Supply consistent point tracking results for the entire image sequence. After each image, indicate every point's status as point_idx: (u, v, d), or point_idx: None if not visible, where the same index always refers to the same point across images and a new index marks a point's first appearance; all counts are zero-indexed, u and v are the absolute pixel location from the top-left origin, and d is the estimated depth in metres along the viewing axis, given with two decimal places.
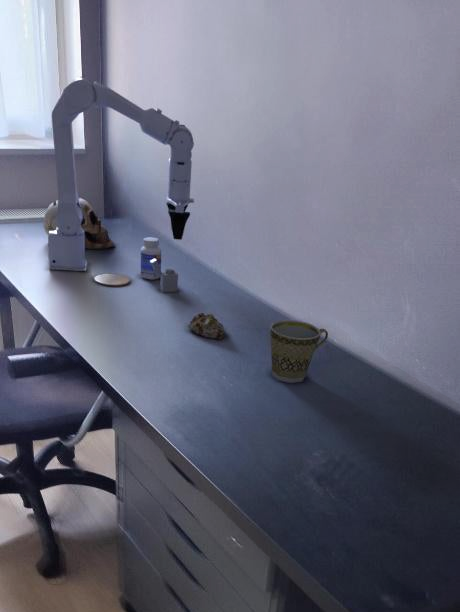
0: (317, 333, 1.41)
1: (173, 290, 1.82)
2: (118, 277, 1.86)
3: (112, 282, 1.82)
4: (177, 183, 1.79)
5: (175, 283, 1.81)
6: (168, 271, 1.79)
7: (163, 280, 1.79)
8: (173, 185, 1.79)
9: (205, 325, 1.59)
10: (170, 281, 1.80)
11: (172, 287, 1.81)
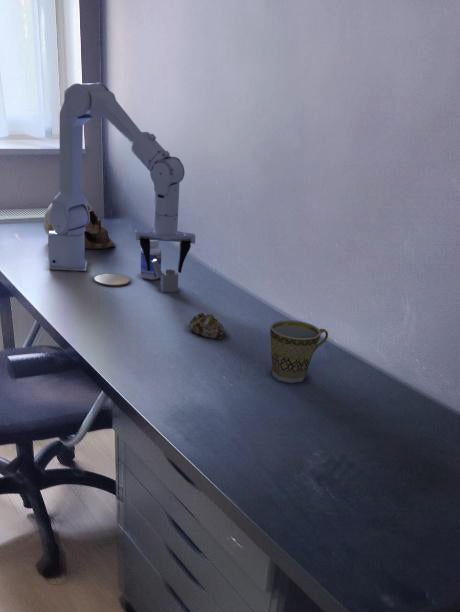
0: (317, 333, 1.41)
1: (173, 290, 1.82)
2: (118, 277, 1.86)
3: (112, 282, 1.82)
4: None
5: (175, 283, 1.81)
6: (168, 271, 1.79)
7: (163, 280, 1.79)
8: None
9: (205, 325, 1.59)
10: (171, 281, 1.80)
11: (172, 287, 1.81)
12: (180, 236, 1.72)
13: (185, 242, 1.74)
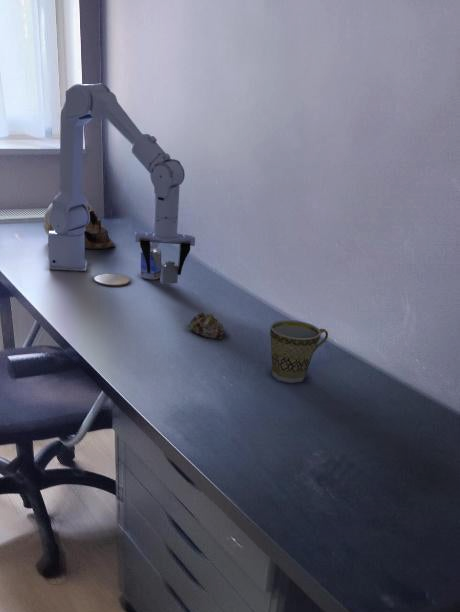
0: (317, 333, 1.41)
1: (173, 282, 1.80)
2: (118, 277, 1.86)
3: (112, 282, 1.82)
4: None
5: (175, 275, 1.80)
6: (168, 263, 1.78)
7: (163, 272, 1.78)
8: None
9: (205, 325, 1.59)
10: (170, 273, 1.79)
11: (172, 279, 1.80)
12: (180, 238, 1.73)
13: (185, 245, 1.75)
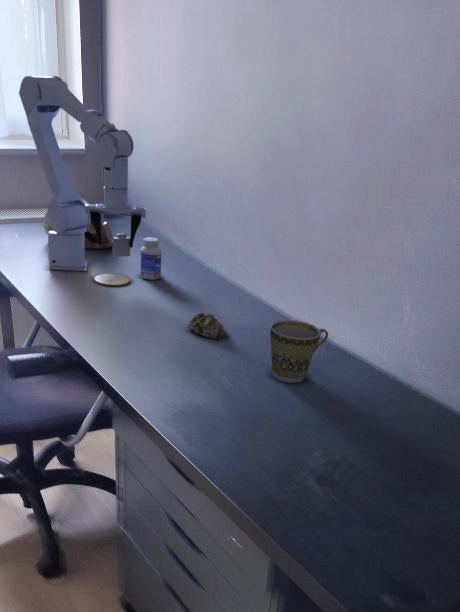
0: (317, 333, 1.41)
1: (125, 255, 1.80)
2: (118, 277, 1.86)
3: (112, 282, 1.82)
4: None
5: (127, 247, 1.79)
6: (120, 235, 1.77)
7: (115, 244, 1.77)
8: None
9: (205, 325, 1.59)
10: (122, 245, 1.78)
11: (124, 252, 1.79)
12: (130, 210, 1.72)
13: (136, 217, 1.74)
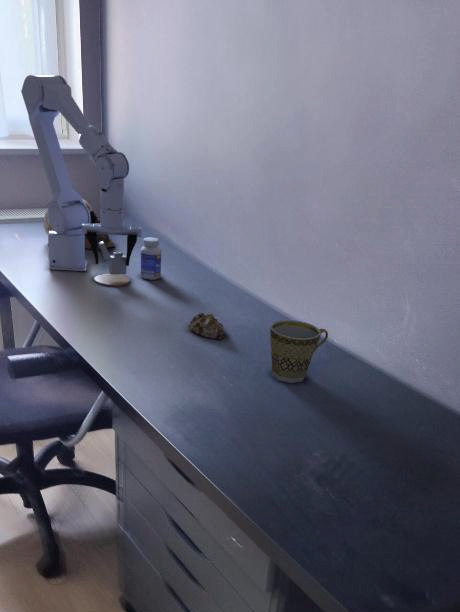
0: (317, 333, 1.41)
1: (122, 273, 1.84)
2: (118, 277, 1.86)
3: (112, 282, 1.82)
4: None
5: (124, 266, 1.83)
6: (116, 254, 1.81)
7: (111, 263, 1.81)
8: None
9: (205, 325, 1.59)
10: (119, 264, 1.82)
11: (121, 270, 1.83)
12: (126, 230, 1.76)
13: (132, 236, 1.78)
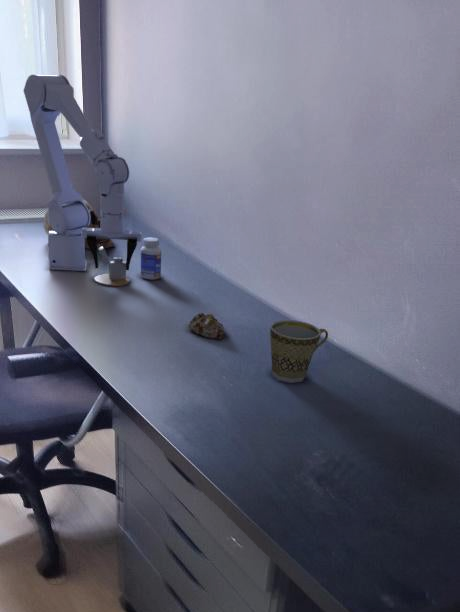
0: (317, 333, 1.41)
1: (121, 278, 1.84)
2: None
3: (112, 282, 1.82)
4: None
5: (123, 271, 1.84)
6: (116, 259, 1.81)
7: (111, 268, 1.82)
8: None
9: (205, 325, 1.59)
10: (118, 269, 1.83)
11: (120, 275, 1.84)
12: (126, 234, 1.76)
13: (132, 240, 1.78)
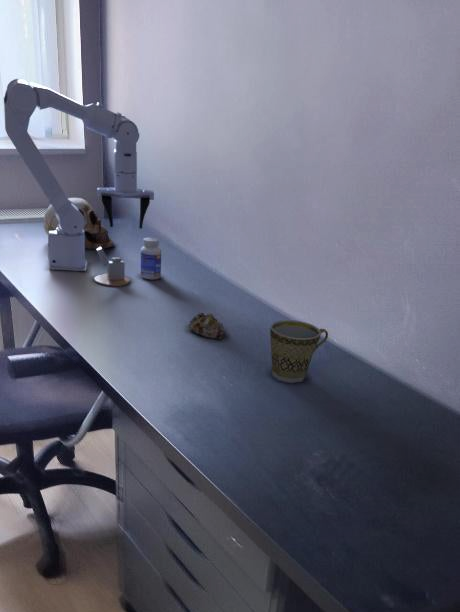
0: (317, 333, 1.41)
1: (120, 278, 1.84)
2: None
3: (112, 282, 1.82)
4: None
5: (122, 271, 1.83)
6: (114, 259, 1.81)
7: (110, 268, 1.82)
8: None
9: (205, 325, 1.59)
10: (117, 269, 1.83)
11: (119, 275, 1.84)
12: (139, 193, 1.83)
13: (145, 199, 1.85)
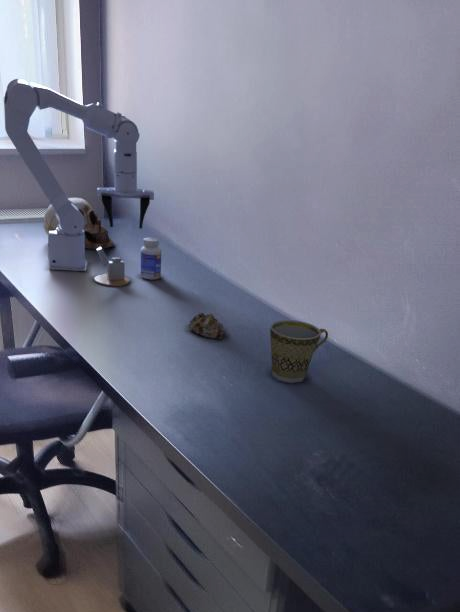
0: (317, 333, 1.41)
1: (120, 278, 1.84)
2: None
3: (112, 282, 1.82)
4: None
5: (122, 271, 1.83)
6: (114, 259, 1.81)
7: (110, 268, 1.82)
8: None
9: (205, 325, 1.59)
10: (117, 269, 1.83)
11: (119, 275, 1.84)
12: (139, 193, 1.83)
13: (145, 199, 1.85)
